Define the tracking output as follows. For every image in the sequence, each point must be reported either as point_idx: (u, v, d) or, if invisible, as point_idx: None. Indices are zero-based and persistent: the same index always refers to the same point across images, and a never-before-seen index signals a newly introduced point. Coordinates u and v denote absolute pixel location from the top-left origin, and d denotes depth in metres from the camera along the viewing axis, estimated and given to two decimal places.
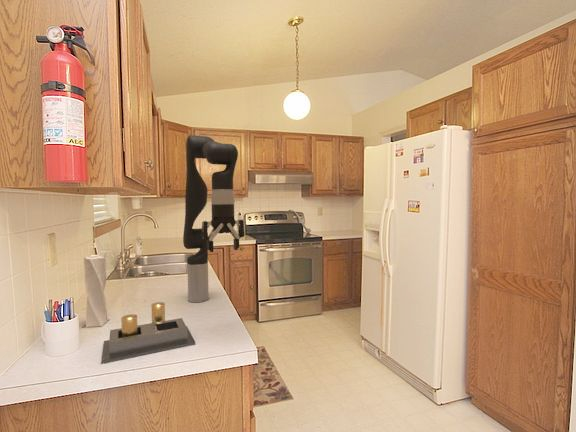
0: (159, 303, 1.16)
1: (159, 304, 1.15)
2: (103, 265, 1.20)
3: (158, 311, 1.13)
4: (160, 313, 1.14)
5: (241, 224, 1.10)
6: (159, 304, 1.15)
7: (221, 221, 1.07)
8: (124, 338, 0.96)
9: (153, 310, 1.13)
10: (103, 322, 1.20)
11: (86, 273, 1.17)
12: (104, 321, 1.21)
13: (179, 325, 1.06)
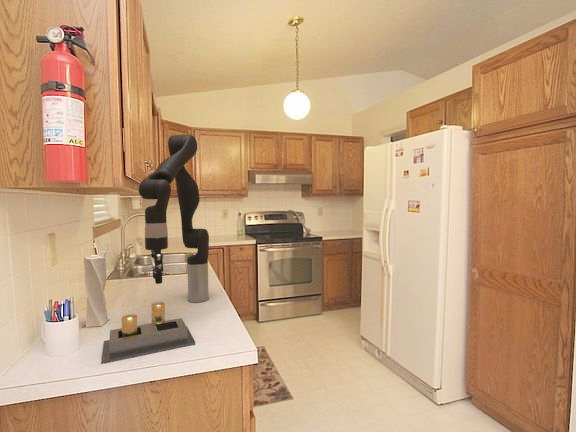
0: (159, 303, 1.16)
1: (159, 304, 1.15)
2: (103, 265, 1.20)
3: (158, 311, 1.13)
4: (160, 313, 1.14)
5: None
6: (159, 304, 1.15)
7: None
8: (124, 338, 0.96)
9: (153, 310, 1.13)
10: (103, 322, 1.20)
11: (86, 273, 1.17)
12: (104, 321, 1.21)
13: (179, 325, 1.06)
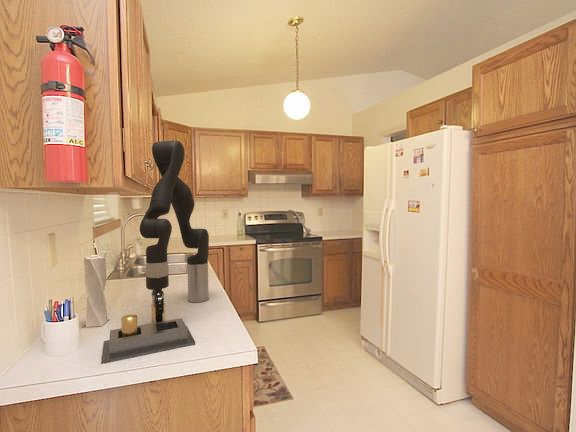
0: None
1: None
2: (103, 265, 1.20)
3: None
4: None
5: None
6: None
7: None
8: (124, 338, 0.96)
9: (153, 310, 1.13)
10: (103, 322, 1.20)
11: (86, 273, 1.17)
12: (104, 321, 1.21)
13: (179, 325, 1.06)
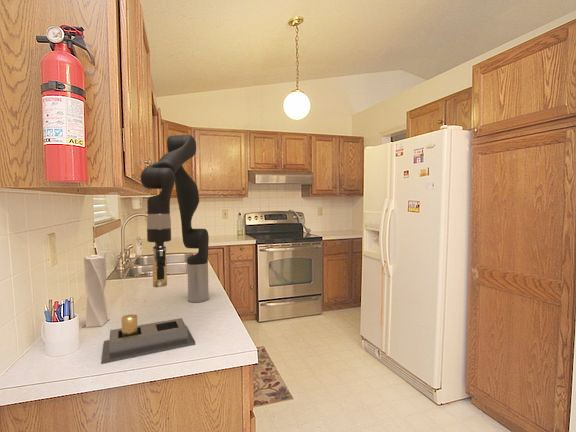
0: None
1: None
2: (103, 265, 1.20)
3: None
4: None
5: None
6: None
7: None
8: (124, 338, 0.96)
9: (154, 265, 1.06)
10: (103, 322, 1.20)
11: (86, 273, 1.17)
12: (104, 321, 1.21)
13: (179, 325, 1.06)
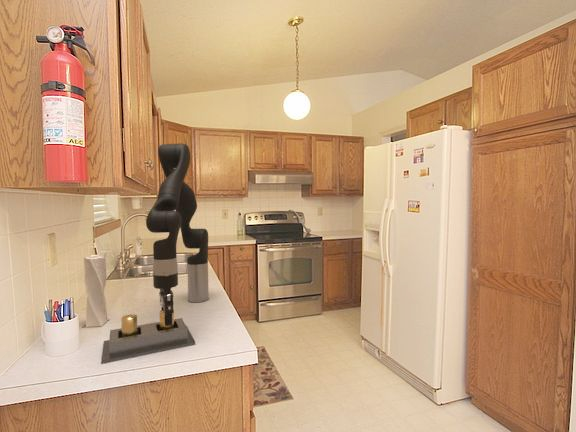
0: None
1: None
2: (103, 265, 1.20)
3: None
4: None
5: None
6: None
7: None
8: (124, 338, 0.96)
9: (161, 318, 1.03)
10: (103, 322, 1.20)
11: (86, 273, 1.17)
12: (104, 321, 1.21)
13: (179, 325, 1.06)
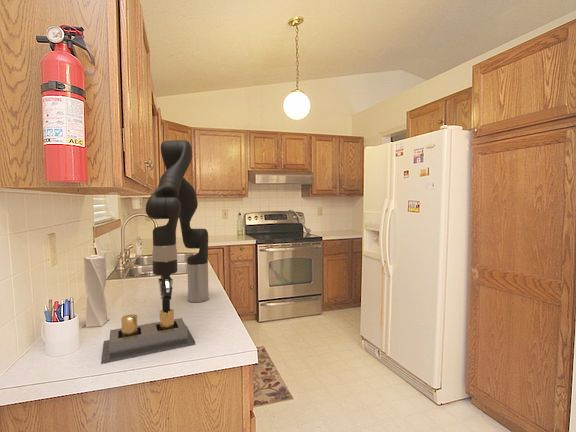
0: None
1: None
2: (103, 265, 1.20)
3: (167, 319, 1.03)
4: (169, 321, 1.04)
5: None
6: (168, 311, 1.05)
7: None
8: (124, 338, 0.96)
9: (161, 318, 1.03)
10: (103, 322, 1.20)
11: (86, 273, 1.17)
12: (104, 321, 1.21)
13: (179, 325, 1.06)
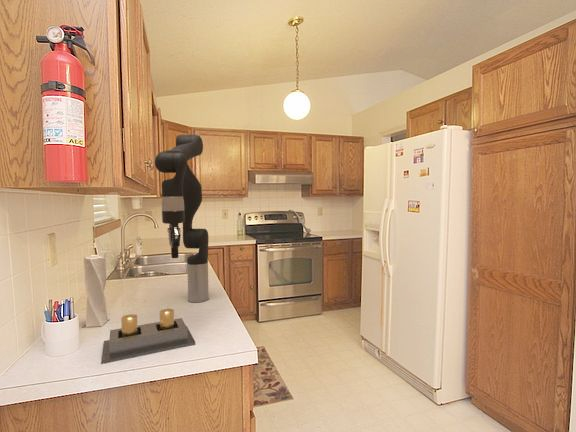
0: (168, 310, 1.06)
1: (167, 311, 1.05)
2: (103, 265, 1.20)
3: (167, 319, 1.03)
4: (169, 321, 1.04)
5: None
6: (168, 311, 1.05)
7: None
8: (124, 338, 0.96)
9: (161, 318, 1.03)
10: (103, 322, 1.20)
11: (86, 273, 1.17)
12: (104, 321, 1.21)
13: (179, 325, 1.06)
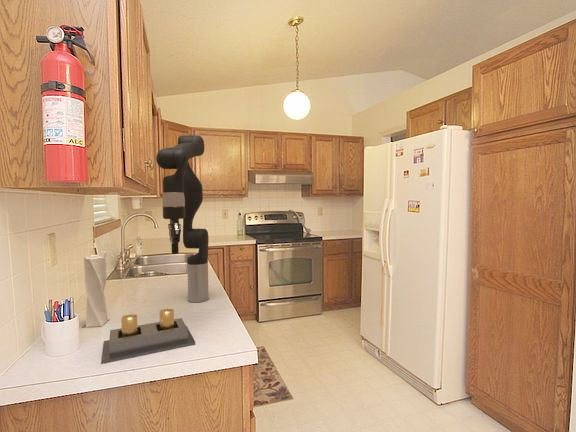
0: (168, 310, 1.06)
1: (167, 310, 1.05)
2: (103, 265, 1.20)
3: (167, 319, 1.03)
4: (169, 320, 1.04)
5: None
6: (168, 310, 1.05)
7: None
8: (124, 338, 0.96)
9: (161, 317, 1.03)
10: (103, 322, 1.20)
11: (86, 273, 1.17)
12: (104, 321, 1.21)
13: (179, 325, 1.06)
